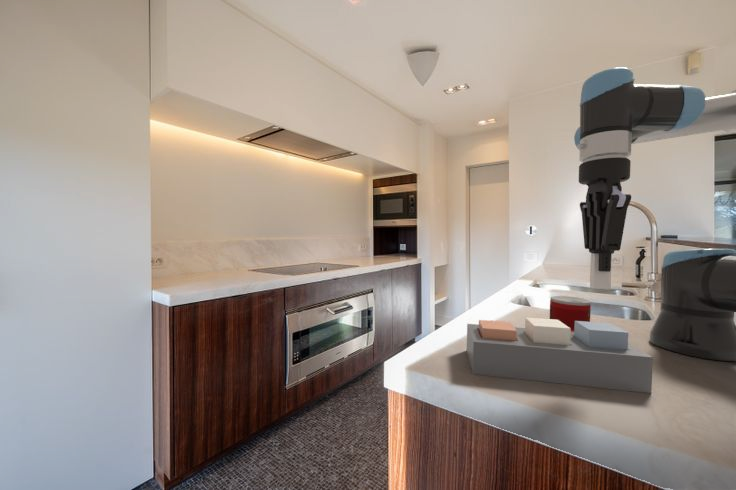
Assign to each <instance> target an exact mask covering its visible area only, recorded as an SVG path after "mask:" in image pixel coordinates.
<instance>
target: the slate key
mask: <svg viewBox="0 0 736 490" xmlns="http://www.w3.org/2000/svg"><path fill="white" fill-rule="evenodd" d="M574 337H575V338H576V339H578V340H579V341H580V342H582V343H583V344H585V345H586V346H587V347H596V348H608V349H620V350H628V344H629V332H628V331H626V330H624V329H623V328H621V327H618V326H616V325H614V324H612V323H610V322H599V321H598V322H597V321H590V322H585V321H575V327H574Z"/></svg>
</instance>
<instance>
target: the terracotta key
mask: <svg viewBox="0 0 736 490" xmlns="http://www.w3.org/2000/svg"><path fill="white" fill-rule="evenodd" d="M478 325H479V334H480V336H481V338H488V339H500V340H512V341H516V339H517V330H516V329H515V328H514V327H515V326H513V324H512V323H511V322H510V321H498V320H485V319H478Z"/></svg>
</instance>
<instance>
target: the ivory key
mask: <svg viewBox="0 0 736 490" xmlns="http://www.w3.org/2000/svg"><path fill="white" fill-rule="evenodd" d="M524 319H525V320H524V328H525V334H526V335H527V337H528V338H529V339H530V340H531V341H532V342H536V343H548V344H560V345H570V333H571V328H569V327H568V326H566V325H565V324H563V323H562V322H561V321H559V320H555V319H550V318H541V317H540V318H537V317H524Z"/></svg>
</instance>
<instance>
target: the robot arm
mask: <svg viewBox="0 0 736 490" xmlns="http://www.w3.org/2000/svg"><path fill="white" fill-rule="evenodd" d="M634 82H635V77H634V73H633V70H632V69H630V68H628V67H612V68H607V69H604V70H602V71H599V72H596V73H595V74H592V75H591V76H590V77H588V78H587V79H586V80H585V81H584V82H583V84H582V87H581V93H580V102H579V116H580V117H579V127H578V128H577V129H576V130H575V132H574V133H575V134H574V138H573V139H574V145H575V146H576V148H577V150H579V157H578V158H579V159H578V160H579V161H580V162H581V164H580V165H579V166H578V183H579V184H580V185H584V186H585V185H586V186H587V192H586V195H585V201H581V202H579V209H580V212H581V220H582V230H583V231H582V232H583V243H584V248H585V250H588V252H589V253H590V265H589V266H590V269H589V270H590V273H589V275H590V276H589V288H590V289H593V290H610V291H611V289H612V288H611V287H612V284H611V283H612V256H613V254H615V251H618V252H619V251H620V250H621V247H622V242H623V241H622V240H623V235H624V228H625V224H626V223H625V222H626V217H627V213H628V207H629V206H630V203H631V201H632V194H629V193H628V194H624V193H623V192H622V184H621V183H622V182H627V181H628V180H629V179H630V178H631V164H632V163H631V160H630V158H629V157H630V156H632V145H635V144H641V143H648V142H654V141H660V140H661V141H662V140H667V139H673V138H680V137H687V136H693V135H694V136H695V135H699V134H700V135H701V134H706V133H707V134H708V133H713V132H720V131H722V132H726V133H731V134H732V133H733V134H734V133H735V134H736V89H734V90H732V91H731V92H728V93H727V94H724V95H723V94H722V95H717V96H711V97H706V94H705V93H704V91H703V90H702V89H701V88H699V87H696V86H693V85H692V86H691V85H690V86H689V85H681V84H680V83H679V84H640V83H639V84H638V83H637V84H636V83H634ZM660 285H661V286H660V287H661V289H660V290H661V291H660V292H661V293H660V311H659V314H658V316H657V318H656V320H655V321H654V323H653V326H652V328H651V329H650V332H649V342H650V343H651V344H653V345H655V346H657V347H659V348H661V349H665V350H667V351H671V352H674V353H679V354H682V355H686V356H690V357H696V358H700V359H707V360H715V361H723V362H736V323H735V313H736V249H733V248H703V249H702V248H699V249H695V248H694V249H681V250H673V251H669V252H667V253H665V255H664V256H663V260H662V266H661V283H660Z"/></svg>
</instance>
